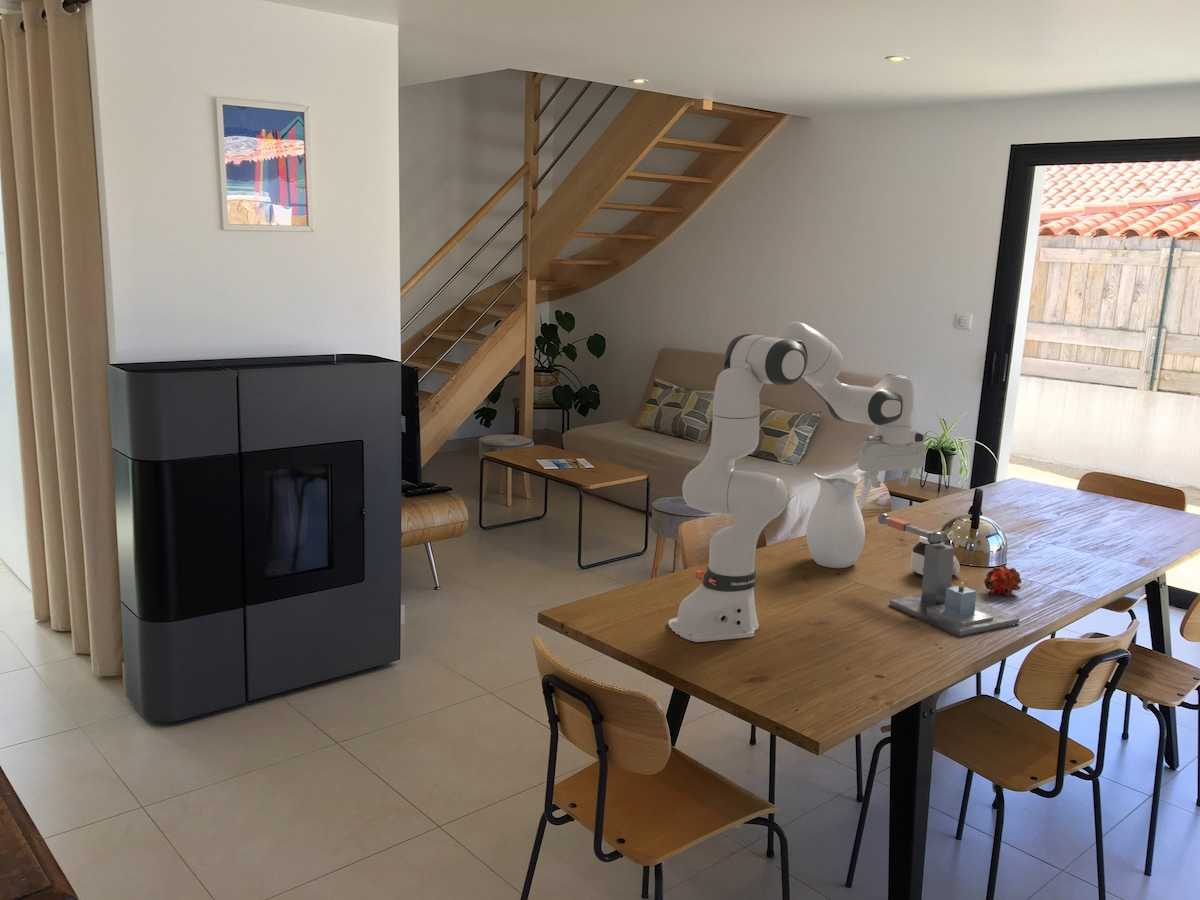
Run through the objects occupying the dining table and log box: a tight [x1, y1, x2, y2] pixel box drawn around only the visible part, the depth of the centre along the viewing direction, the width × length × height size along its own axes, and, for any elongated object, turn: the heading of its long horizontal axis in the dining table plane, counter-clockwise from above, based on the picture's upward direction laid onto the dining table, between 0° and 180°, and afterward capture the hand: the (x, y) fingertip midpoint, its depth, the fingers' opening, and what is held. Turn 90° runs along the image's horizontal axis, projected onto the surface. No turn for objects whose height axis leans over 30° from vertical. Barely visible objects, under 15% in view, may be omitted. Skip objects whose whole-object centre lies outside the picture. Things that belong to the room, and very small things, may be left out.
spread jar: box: [910, 536, 961, 579], centre depth 274 cm, size 12×11×12 cm
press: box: [889, 543, 1020, 638], centre depth 242 cm, size 20×24×16 cm
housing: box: [944, 581, 977, 617], centre depth 238 cm, size 5×5×8 cm
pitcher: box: [806, 468, 872, 569], centre depth 285 cm, size 24×17×28 cm
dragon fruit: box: [983, 564, 1022, 597], centre depth 259 cm, size 8×8×12 cm
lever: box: [877, 512, 949, 545], centre depth 255 cm, size 4×23×3 cm, turn 26°
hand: (889, 486), depth 255 cm, fingers open, 8 cm apart
